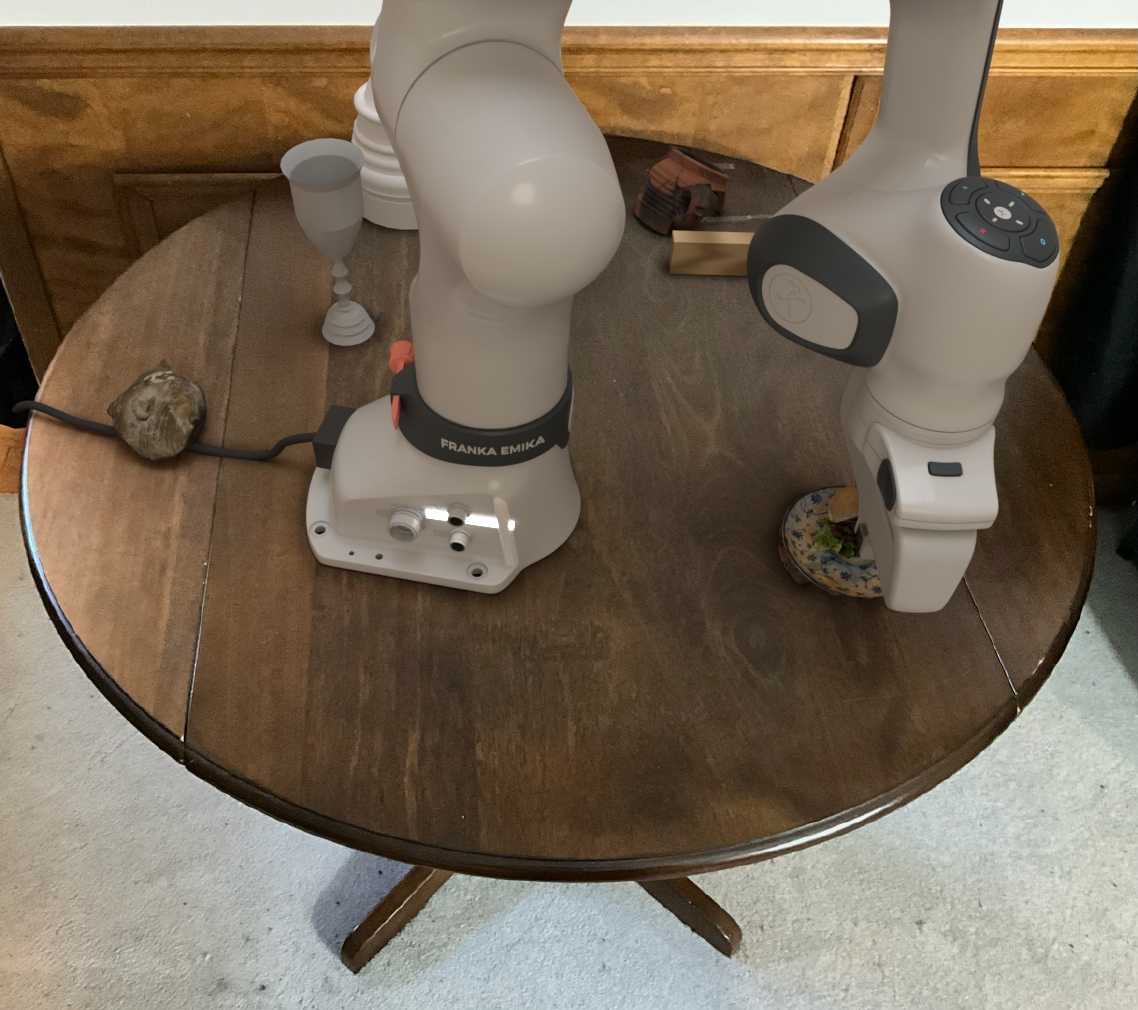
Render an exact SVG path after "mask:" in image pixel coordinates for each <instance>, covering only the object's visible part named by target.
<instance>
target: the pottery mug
mask: <svg viewBox="0 0 1138 1010" xmlns="http://www.w3.org/2000/svg"><path fill="white" fill-rule="evenodd" d="M667 149H668V152H667V154H666V155H664V156H661V157H660V158H658V159H656V160H655V161H654V162H653V163H652V164H651V169H650V170H649V173H648V176H649V178H648V179H647V182H646V184H645V188H644V190H643V193H642V192H641V193H639V194H638V195H637V199H636V204H635V208H634V215H635V216H636V218H638V219H639V220H640V221H642V222H643V224H644V225H646V226H647V227H648V228H650V229H652V230H653V231H656V232H657V233H659V234H661V235H664V236H667V235H668V233H669V229H670V227H671V226H672V223H673V224H674V226H675V228H676V229H677V231H695V229H696V227H697V225H699V224H700V222H702V220H703V219H704V217H705V215H706V213H707V211H708V209H709V206H710V194H711V193H710V191H711V192H712V193H713V194H714V195H715V197H716V200H715V205H714V211H715V212H716V213H717V212H718V213H722V212H723V210H724V208H725V205H726V204H725V203H726V201H727V198H726V197H727V190H726V184H727V182H728V181H729V180H730V176H729V175H727V173H726V172H725V171H724V170H723V169H722V168H720V167H719V166H718V165H715V164H714V163H713V162H710V161H709V160H707V159H705V158H703V157H701V156H699V155H697V154H696V153H693V152H692V151H689V150H687V149H684V148H683V147H679V146H677V145H670V146H669V147H668V148H667ZM677 189H679V190H681V191H680V196H679V195H678V196H676V190H677Z"/></svg>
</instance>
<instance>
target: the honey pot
mask: <svg viewBox="0 0 1138 1010" xmlns="http://www.w3.org/2000/svg"><path fill="white" fill-rule="evenodd" d="M353 96H354V97H353V106H354V109H355V110H356V112H357V117H356V118H355V120H354V121H353V129H352V131H353V132H352V135H351V143H353V144H355V145H356V146H357V147H359V148H360V149H361V151H362V153H363V155H364V163H363V166H362V168H361V171H360V175H361V183H362V191H363V199H364V214H363V218H364V219H366V220H367V221H369V222H370V223H372V224H375V225H379V226H382V227H384V228H387V229H395V230H407V231H408V230H418V225H417V220H416V215H415V210H414V207H413V203H412V200H411V197H410V193H409V190H408V187H407V184H406V181H405V178H404V175H403V172H402V170H401V168H400V165H399V162H398V159H397V157H396V155H395V153H394V150H393V148H392V146H391V144H390V141H389V139H388V137H387V135H386V132H385V130H384V128H383V126H382V123H381V121H380V119H379V117H378V114H377V111H376V108H375V105H374V100H373V93H372V84H371V74H369V77H368V80H367V82H365V83H363V84H362V85H361V86H360V87H358V88H357V91H356V92H355V94H354V95H353Z"/></svg>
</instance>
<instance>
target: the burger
mask: <svg viewBox="0 0 1138 1010" xmlns="http://www.w3.org/2000/svg"><path fill="white" fill-rule="evenodd" d="M858 508H859V493H858V489H857V485H856V481H855V480H854V484H850V485H838V484H837V485H830V486H819V487H818V488H815V489H812V490H809V491H806V492H805V493H804V494H802V495H801V496H799V497H798V498H796V499H795V500H794V502H793V503H792V504H791V505H790V506H789V508H787V511H786V512H785V514H784V518H783V521H782V522H781V524H780V526H779V530H778V533H777V550H778V554H779V557H780V558H779V559H780V561H781V563H782V565H783V567H784V569H785V570H786V571H787V573H789V574H790V576H791V578H792V579H793V581H794V582H795V583H796V584H797V585H799V586H802V585H804V584H807V583H808V582H809V583H810V584H812V585H814V586H816V587H817V588H819V589H820V590H822V591H825V593H828V594H829V595H835V596H836V595H837V596H839V595H840V596H845V597H850V598H854V599H860V600H861V599H862V600H863V599H864V600H873V599H880V598H881V599H882V598H884V596H883V592H882V588H881V584H880V580H879V576H878V571H877V567H876V563H875V560H866V559H862V558H861V557H860V553H859V548H858V544H857V540H856V536H855V532H854V528H855V525H856V522H857V520H858Z"/></svg>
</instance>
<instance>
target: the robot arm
mask: <svg viewBox="0 0 1138 1010" xmlns="http://www.w3.org/2000/svg"><path fill="white" fill-rule="evenodd" d="M573 1H574V0H382V4H381V10H380V12H379V14H378V16H377V18H376V20H375V23H374V25H373V28H372V32H371V36H370V42H369V72H370V74H369V75H371V84H372V93H373V100H374V105H375V108H376V111H377V114H378V117H379V119H380V121H381V123H382V126H383V128H384V130H385V132H386V135H387V137H388V139H389V141H390V144H391V146H392V148H393V150H394V153H395V155H396V157H397V159H398V162H399V165H400V168H401V170H402V172H403V175H404V178H405V181H406V184H407V187H408V190H409V193H410V197H411V200H412V203H413V207H414V210H415V215H416V220H417V225H418V229H417V230H418V240H419V242H418V243H419V262H418V270H417V272H416V274H415V275H414V277H413V278H412V281H411V283H410V285H409V289H408V304H409V314H410V325H411V327H410V328H411V336H412V342H410V341H408V340H397V341H395V342H394V343H393V344H392V345H391V347H390V358H389V360H388V367H389V369H390V370H391V371H392V372H393V373H394V375H393V376H392V378H391V381H390V387H389V394H386V395H385V396H383V397H380V398H378V399H375V400H374V401H371V402H369V403H367V404H364V405H362V406H360V407H359V408H357V409H355V408H353V407H347V406H342V405H337V404H331V405H330V407H329V409H328V411H327V412H326V414H325V416H324V418H323V420H322V421H321V423H320V425H319V427H318V429H317V430H316V431H313V432H303V433H297V434H292V435H287V436H286V437H284V438H281V439H280V440H278V441H277V442H276V443H275V445H274V446H273V447H271V448H270V449H264V450H238V449H230V448H226V447H225V448H224V447H219V446H215V445H214V446H213V445H209V444H205V443H200V442H196V441H194V442H193V443H192V444H191V445H190V446H188V447H187V448H185V449H184V450H187V451H191V452H195V453H200V454H205V455H210V456H213V457H214V456H215V457H222V458H229V459H237V460H248V461H250V460H251V461H265V460H271V459H274V458H276V457H278V456H279V455H280V454H281V453H282V452H283V451H284V450H285V449H286V448H287V447H290V446H293V445H297V444H305V443H311V445H312V449H313V453H314V459H315V463H316V467H315V469H314V472H313V474H312V478H311V480H310V484H309V488H308V493H307V498H306V499H307V500H306V507H305V525H306V536H307V540H308V544H309V546H310V549H311V552H312V553H313V555H314V557H315V558H316V560H317V561H318V562H319V563H320V564H322V565H326V566H329V567H333V568H334V567H335V568H339V569H344V570H345V569H346V570H351V571H357V572H363V573H368V574H374V575H380V576H384V577H385V576H386V577H392V578H397V579H402V580H408V581H413V582H419V583H425V584H430V585H437V586H442V587H447V588H454V589H459V590H466V591H471V592H476V593H482V594H489V595H492V594H498V593H500V592H502V591H503V590H505V589H506V588H508V586H510V584H511V583H512V582H513V581H514V580H515V579H516V577H517V576H518V575H519V574H520V573H521V571H523V570H524V569H526V568H528V567H529V566H530V565H532V564H534V563H537V562H539V561H540V560H542V559H545V558H546V557H547V556H549V555H551V554H552V553H554V552H555V551H557V549H559V548H560V547H561V546H562V545H563V544H564V543H565V542H566V541H567V540H568V539H569V537H570V536H571V535H572V533H573V531H574V530H575V528H576V526H577V524H578V520H579V519H580V514H581V506H582V501H581V500H582V498H581V492H580V488H579V486H578V483H577V480H576V478H575V476H574V473H573V468H572V464H571V459H570V449H569V440H570V436H571V432H572V429H573V420H574V402H575V387H574V383H573V373H572V369H571V366H570V364H569V352H570V337H571V321H572V309H573V302H574V297H575V295H576V294H577V293H579V292H581V291H582V290H584V288H586V287H587V286H589V285H590V284H591V283H593V282H594V281H595V280H596V279H597V278H598V277H599V276H600V275H601V274H602V273H603V272H604V270H605V269H607V268H608V266H609V264H610V263H611V261H612V260H613V258H614V257H615V255H616V253H617V251H618V249H619V246H620V244H621V242H622V239H623V236H624V231H625V228H626V227H625V226H626V218H627V217H626V216H627V215H626V203H625V200H624V195H623V192H622V188H621V184H620V181H619V177H618V173H617V170H616V166H615V163H614V161H613V158H612V154H611V151H610V149H609V146H608V143H607V140H606V139H605V137H604V135H603V133H602V131H601V129H600V128H599V126H598V125H597V124H596V122H595V120H594V118H592V116H591V115H590V113H589V112H588V111H587V109H586V108H585V106H584V104H583V103H582V102H581V100H580V99H579V97H578V95H577V94H576V93H575V91H574V90H573V88H572V87H571V86H570V84H569V83H568V81H567V79H566V76H565V72H564V66H563V60H562V37H563V31H564V27H565V24H566V20H567V17H568V14H569V12H570V8H571V6H572V3H573ZM888 1H889V24H888V32H887V40H886V48H885V49H886V50H885V56H884V64H883V73H882V80H881V89H880V97H879V105H878V111H877V115H876V117H875V120H874V123H873V125H872V127H871V129H870V130H869V132H868V134H866V137H864V140H863V141H862V142H861V143H860V145H859V146H858V147H857V148H856V149H855V150H854V152H853V153H852V154H851V155H850V156H849V157H848V158H847V159H846V160H845V161H844V162H843V163H842V164H841V165H839V166H838V167H836V168H835V169H834V170H832V172H830V173H828V174H827V175H826V176H825V177H824V178H822V179H820V180H819V181H818V182H817V183H815V184H814V185H812V186H811V187H809V188H808V189H806V190H803V192H801V193H800V194H799V195H798V196H796V197H795V198H793V199H792V200H791V201H790V202H788V203H787V204H785V205H784V206H783V207H782V208H781V209H779V210H778V211H777V212H775V213H774V214H773V215H772V216H771V217H770V218H769V219H767V220H766V221H764V222H763V223H762V224H761V225H759V227H758V228H757V229H756V230H755V232H754V233H755V234H754V235H753V237H752V239H751V242H750V245H749V249H748V254H747V276H746V278H747V284H748V288H749V292H750V295H751V297H752V298H751V299H752V301H753V303H754V305H755V307H756V309H757V311H758V313H759V314H760V316H761V317H762V319H763V320H764V321H765V322H766V323H767V325H768V326H769V327H770V328H772V329H773V330H774V331H775V332H776V333H777V334H778V335H780V336H781V337H783V338H784V339H786V340H788V341H790V342H792V343H794V344H796V345H798V346H801V347H803V348H805V349H807V350H810V351H812V352H815V353H817V354H820V355H822V356H824V357H827V358H830V359H833V360H835V361H838V362H841V363H843V364H847V365H850V366H853V367H854V369H853V370H852V373H851V375H850V378H849V379H848V382H847V385H846V386H845V387H846V388H845V390H844V393H843V394H842V397H841V402H840V407H839V408H840V409H839V418H840V419H839V420H840V424H841V427H842V432H843V436H844V440H845V443H846V448H847V451H848V456H849V460H850V465H851V468H852V473H853V477H854V482H855V481H856V485H857V489H858V493H859V508H858V520H857V522H856V525H855V528H854V532H855V536H856V540H857V544H858V548H859V553H860V557H861V558H862V559H866V560H875V563H876V567H877V571H878V576H879V580H880V584H881V588H882V592H883V596H884V597H883V601H884V604H885V606H886V607H887V608H888V609H889V610H891V611H896V612H901V613H912V614H913V613H914V614H916V613H917V614H920V613H921V614H922V613H924V614H925V613H926V614H927V613H935V612H938V611H940V610H942V609H943V608H944V607H945V606H946V605H947V604H948V602H949V601H950V599H951V598H952V596H953V594H954V593H955V592H956V589H957V588H958V586H959V584H960V582H961V581H962V578H963V577H964V576H965V573H966V571H967V569H968V567H969V565H970V563H971V560H972V558H973V555H974V553H975V550H976V549H975V548H976V543H977V537H978V536H977V535H978V533H977V532H978V531H977V530H984V529H985V530H986V529H989V528H991V527H992V525H993V524H994V522H995V521H996V519H997V516H998V514H999V508H1000V507H999V506H1000V505H999V497H998V491H997V484H996V483H997V482H996V474H995V472H996V471H995V459H994V457H995V456H994V454H995V440H996V428H995V425H994V424H995V423H994V422H995V421H996V418H997V416H998V415H999V412H1000V410H1001V409H1002V406H1003V403H1004V398H1005V394H1006V383H1007V380H1008V379H1009V377H1010V376H1011V375H1012V374H1013V373H1014V372H1015V371H1016V370H1018V368H1019V367H1020V366H1021V364H1022V363H1023V362H1024V360H1025V358H1026V356H1027V355H1028V352H1029V350H1030V348H1031V347H1032V343H1033V342H1034V339H1035V338H1036V335H1037V332H1038V331H1039V328H1040V326H1041V323H1042V321H1043V318H1044V315H1045V314H1046V310H1047V308H1048V305H1049V301H1050V299H1051V297H1052V294H1053V290H1054V288H1055V285H1056V279H1057V276H1058V271H1059V266H1060V258H1061V244H1060V236H1059V233H1058V230H1057V227H1056V225H1055V223H1054V221H1053V219H1052V217H1051V215H1049V213H1048V212H1047V211H1046V209H1045V208H1044V207H1043V206H1042V205H1041V204H1040V203H1039V202H1038V201H1037V200H1036V199H1034V198H1033V197H1032V196H1030V195H1029V194H1028V193H1026V192H1024V191H1023V190H1021V189H1020V188H1018V187H1016V186H1014V185H1012V184H1009V183H1007V182H1004V181H1002V180H999V179H995V178H991V177H985V176H982V173H981V165H980V158H979V143H978V141H979V138H978V135H979V125H980V117H981V111H982V107H983V102H984V98H985V93H986V88H987V82H988V79H989V73H990V69H991V63H992V59H993V54H994V49H995V45H996V40H997V35H998V30H999V27H1000V25H999V24H1000V21H1001V15H1002V10H1003V6H1004V1H1005V0H888ZM26 410H32V411H37V412H40V413H42V414H45V415H48V416H50V417H52V418H54V419H57V420H58V421H61V422H63V423H66V424H68V425H72V426H73V427H77V428H81V429H85V430H88V431H93V432H97V433H101V434H104V435H109V436H114V437H118V438H121V437H120V436H119V435H118V433H117V432H116V431H115V429H114V425H109V424H104V423H100V422H96V421H92V420H88V419H85V418H80V417H77V416H75V415H71V414H70V413H67V412H64V411H62V410H60V409H58V408H55V407H53V406H50V405H48V404H45V403H43V402H40V401H36V400H23V401H19V402H17V403H16V404H15V405H14V406H13V407H12V408H11V411H12V412H13V413H15V414H16V413H17V414H19V413H22V412H24V411H26ZM319 533H320V534H319ZM474 575H480V576H474Z"/></svg>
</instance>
